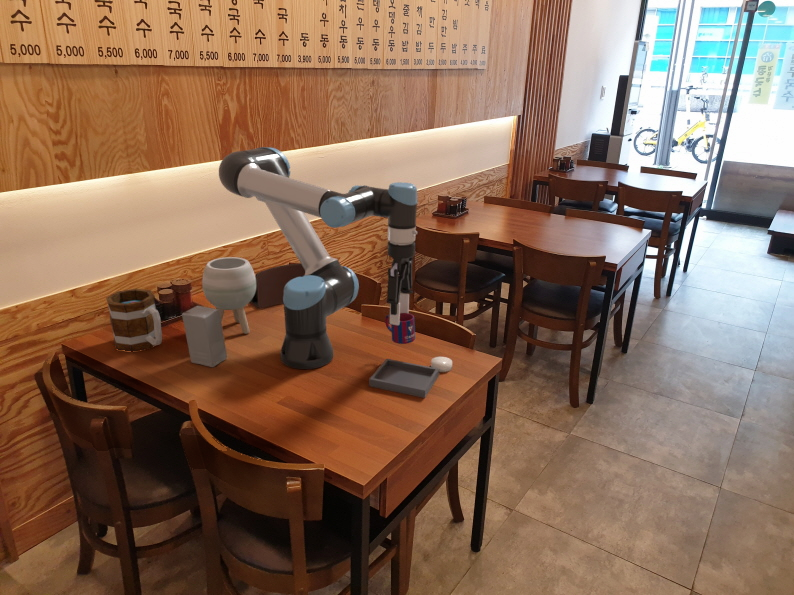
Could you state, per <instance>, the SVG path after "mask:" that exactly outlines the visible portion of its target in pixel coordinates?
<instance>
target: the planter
mask: <svg viewBox="0 0 794 595" xmlns="http://www.w3.org/2000/svg"><path fill="white" fill-rule="evenodd" d="M254 271H255V270H254V269H253V267H252V265H251V263H250V261H249V260H248V259H246V258H244V257H239V256H238V257H237V256H236V257H235V256H234V257H233V256H228V257H219V258H215V259H212V260H210V261H208V262H207V263H206V265H205V267H204V270H203V273H202V282H201V283H202V284H201V286H202V291H203V294H204V296H205V298H206V300H207V302H209V303H210V304H211V305H212V306H214V307H215V309H219V312H220V318H221V324H222V322H223V319H224V315H225V314H224V313H225V311H232V313H233V318H234V321H235V323H237V324H239V325H240V327H241V330H242V334H245V335H248V334H249V333H250V327H249V324H248V319H247V314H246V311H245V310H246V309H245V307H247V306H248V304H250V303H249V302H250V301H251V299H252V298H253V296H254V294H255V292H256V278H255V275H256V273H255V272H254Z"/></svg>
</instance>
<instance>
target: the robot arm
mask: <svg viewBox="0 0 794 595" xmlns="http://www.w3.org/2000/svg"><path fill="white" fill-rule="evenodd" d="M290 169H291V165H290V162H289V160H288V158H287V157H286V155H285V154H284V153H283V152H282V151H280V150H279V149H277V148H276V147H265V146H262V147H260V146H259V147H256V148H253V149H245V150H238V151H233V152H230V153H229V154H226V156H225V157H223V158H222V160H221V161H220V163H219V166H218V178H219V181H220V183H221V185H222V186H223V188H225V189H226V190H227V191H228V192H231V193H232V194H234V195H236V196H239V197H242V198H245V199H250V198H253V197H255V198H256V200H257V201H260V202H263V203H265V205H266V207H267V208H268V210H269V211H270V214H271V215H272V218H274V220H275V222H276V224H277V226H278V227H279V229H280V231H281V233H282V234H283V236H284V238H285V239H286V241H287V242H288V244H289V246H290V247H291V249H292V251H293V252H294V255H295V256H296V258H297V259H298V261H299V264H302V266H303V268H304V269H305V276H303V277H297V278H294V279H292V280H290V281H289V282H288V283H287V284H286V285H285V287H284V296H283V312H284V327H285V328H284V330H285V335H284V338H283V341H282V345H281V349H280V361H281V362H282V364H283V365H285V366H286V367H289V368H291V369H298V370H313V369H318V368H321V367H324V366H326V365H329V363H330V362H331V361H333V359H334V348H333V345H332V342H331V339H330V337H329V334H328V332H327V317H329V316H331V315H332V314H334V313H336V312H338V311H340V310H341V309H344V308H346V307H347V306H349V305H350V304H352V302H353V301H355V299H356V298H357V297H358V294H359V290H360V289H359V288H360V286H359V283H360V282H359V279H358V277H357V275H356V273H355V272H354V271H353V270H352V269H351V268H348V267H347V266H345V265H344V266H343V265H341V263H340V261H339V259H338V258H335V257H332V256H330V254H329V252H328V251H327V249H326V247H325V246H324V244H323V242H322V240H321V239H320V237H319V236H318V233H317V232H316V231H315V228H314V227H313V225H312V224H311V222H310V220H309V218H308V217H307V215H311V216H314V217H318V218H320V219H321V220H322V222H324V223H325V224H326V225H327V226H328V227H329V228H341V227H342V228H343V227H345V226H349V225H350V224H352V223H355V222H358V221H360V220H363V219H366V218H368V217H373V216H374V217H379V218H387V241H388V242H387V251H386V252H387V256H389V257H391V258H392V259H393V260H392V263H391V268H390V267H388V268H387V274H388V275H387V276H388V278H387V292H386V293H387V294H386V303H387V304H389V315H390V317H389V325H391V324H393V325H400V313H409V312H410V307H409V306H410V294H413V291H414V290H413V262H414V261H413V260H414V256H415V255H416V242H415V241H416V235H418V231H417V230H416V229H417V211H418V208H417V207H418V203H419V202H418V188H417V186H416V185H415V184H414V183H411V182H400V181H399V182H392V183H390V184H389V185H388V189H387V188H381V187H375V186H373V187H372V186H368V185H354V186H352V187H351V188H350V189H349V191H348V192H346V193H341V192H337V191H335V190H331V189H328V188H325V187H320V186H317V185H315V184H311V183H308V182H304V181H301V180H297V179H294V178H291V177H290V176H291V171H290ZM306 214H307V215H306ZM409 314H410V313H409Z"/></svg>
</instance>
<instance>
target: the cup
mask: <svg viewBox="0 0 794 595" xmlns="http://www.w3.org/2000/svg"><path fill="white" fill-rule="evenodd" d="M389 318H390V314H388V315H386V316H385V318H384V323H385V326H386V329H387V330H388V331H389V332H391V341H392V342H393V343H395V344H398V345H399V344H400V345H405V344H406V345H407V344H411V343H413V342H414V341H416V326H415V325H416V324H415V315H414V314H412V313H400V325H393V324H390V323H389Z"/></svg>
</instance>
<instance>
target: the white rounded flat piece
mask: <svg viewBox="0 0 794 595" xmlns="http://www.w3.org/2000/svg"><path fill="white" fill-rule="evenodd" d="M430 361H431V362H430V367H433V368H438V369H439V373H447V372H449V371H452V369H453V360H452V359H451V358H449V357H446V356H435V357H433V358H431V360H430Z"/></svg>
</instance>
